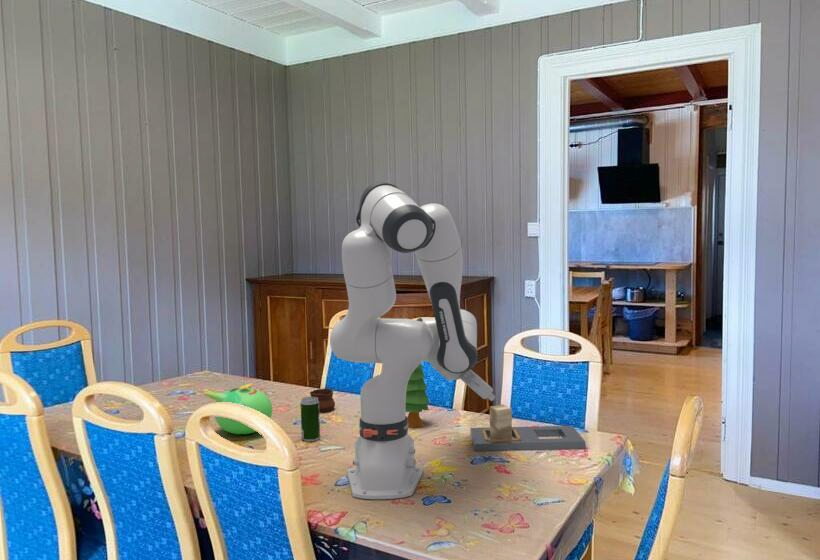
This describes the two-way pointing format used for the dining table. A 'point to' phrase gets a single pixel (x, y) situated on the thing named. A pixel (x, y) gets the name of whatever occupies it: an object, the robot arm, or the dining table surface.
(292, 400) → the dining table surface
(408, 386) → the decorative tree
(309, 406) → the beer can
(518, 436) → the grey flat plate
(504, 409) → the wooden peg
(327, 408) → the ceramic pot
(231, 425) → the green teapot
